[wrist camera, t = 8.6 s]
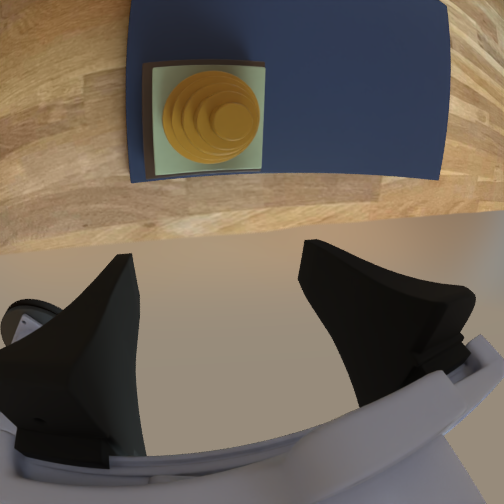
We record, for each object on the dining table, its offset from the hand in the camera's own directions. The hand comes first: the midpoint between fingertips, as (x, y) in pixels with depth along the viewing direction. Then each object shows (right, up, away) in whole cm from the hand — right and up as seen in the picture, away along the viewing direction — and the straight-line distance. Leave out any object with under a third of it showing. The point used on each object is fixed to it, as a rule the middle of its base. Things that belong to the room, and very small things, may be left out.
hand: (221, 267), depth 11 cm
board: (+8, +17, +5) cm, 19 cm away
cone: (-1, +7, +1) cm, 7 cm away
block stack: (-2, +10, +5) cm, 11 cm away
